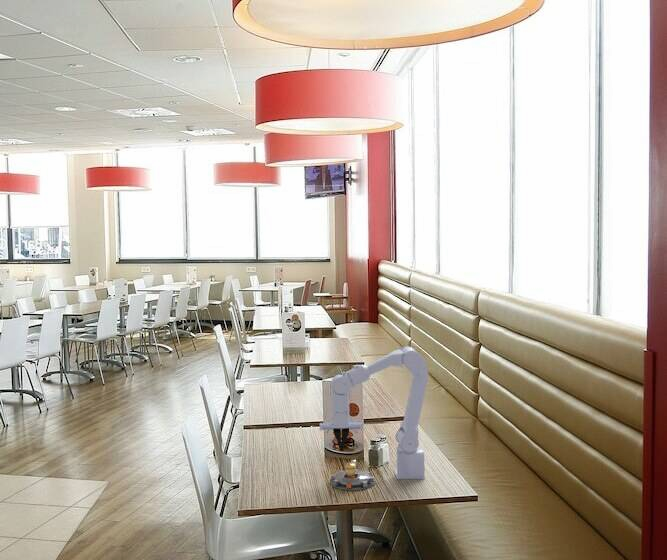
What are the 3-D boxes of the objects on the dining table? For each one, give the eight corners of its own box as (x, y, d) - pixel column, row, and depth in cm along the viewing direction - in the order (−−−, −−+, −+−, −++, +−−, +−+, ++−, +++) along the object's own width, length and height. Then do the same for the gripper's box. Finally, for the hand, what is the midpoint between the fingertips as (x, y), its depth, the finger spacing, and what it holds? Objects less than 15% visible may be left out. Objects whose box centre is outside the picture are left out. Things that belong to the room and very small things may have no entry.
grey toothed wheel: (381, 477, 246) (380, 461, 245) (360, 491, 234) (360, 474, 233) (345, 470, 253) (345, 455, 253) (323, 483, 241) (323, 467, 241)
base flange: (373, 474, 251) (373, 472, 251) (376, 490, 236) (376, 488, 236) (330, 475, 251) (330, 473, 251) (330, 491, 236) (330, 489, 236)
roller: (356, 477, 241) (356, 463, 240) (354, 481, 238) (353, 466, 237) (347, 476, 242) (347, 462, 241) (344, 480, 239) (344, 465, 238)
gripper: (361, 407, 249) (362, 446, 250) (319, 408, 249) (320, 447, 250) (362, 412, 242) (363, 452, 243) (319, 413, 242) (320, 453, 243)
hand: (341, 450), depth 246 cm, fingers closed
